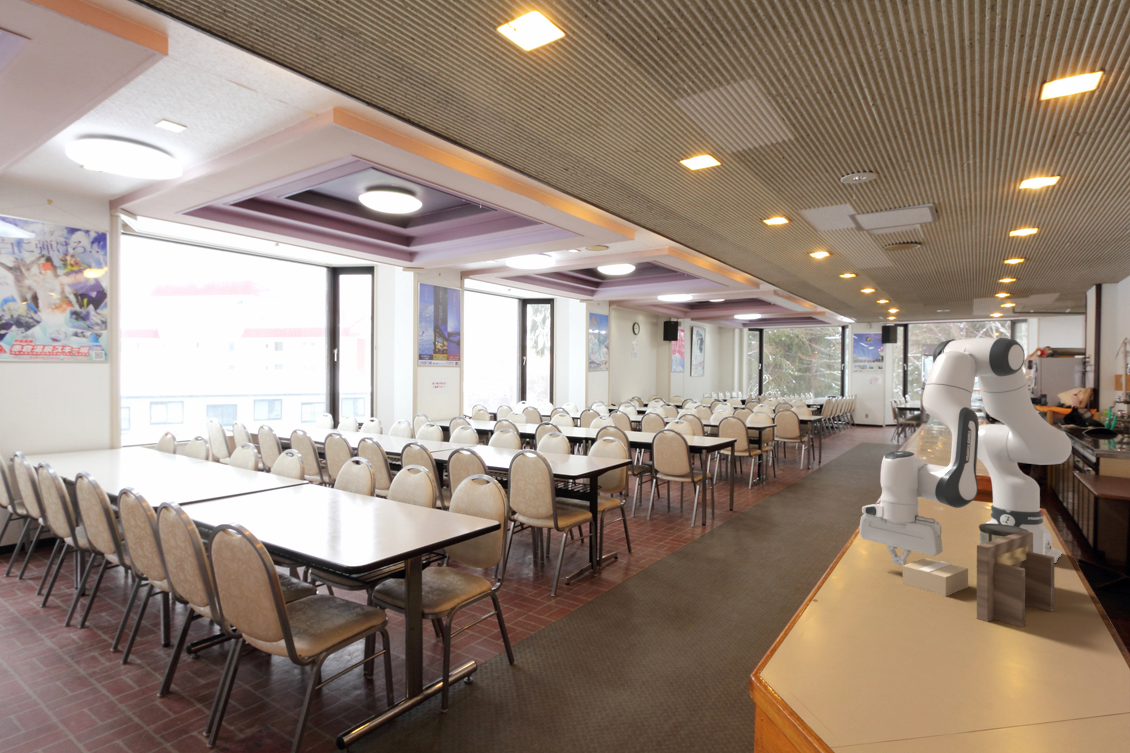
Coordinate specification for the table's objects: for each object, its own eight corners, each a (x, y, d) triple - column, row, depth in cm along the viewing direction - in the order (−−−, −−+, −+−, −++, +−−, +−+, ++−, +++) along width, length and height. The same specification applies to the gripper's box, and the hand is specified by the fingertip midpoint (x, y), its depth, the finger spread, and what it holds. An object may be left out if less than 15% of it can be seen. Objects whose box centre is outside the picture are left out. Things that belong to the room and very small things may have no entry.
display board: (1020, 596, 138) (1020, 530, 138) (1059, 606, 132) (1059, 537, 132) (974, 617, 125) (974, 545, 125) (1014, 630, 119) (1014, 553, 119)
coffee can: (1014, 576, 152) (1014, 524, 152) (1038, 590, 142) (1038, 534, 142) (971, 574, 154) (971, 521, 154) (991, 587, 144) (991, 531, 144)
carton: (925, 576, 153) (925, 557, 153) (968, 588, 144) (968, 567, 144) (902, 585, 146) (902, 564, 146) (945, 597, 138) (945, 576, 138)
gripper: (947, 518, 146) (947, 572, 146) (869, 503, 163) (869, 552, 163) (934, 521, 142) (934, 577, 142) (856, 506, 160) (856, 555, 160)
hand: (899, 563), depth 153 cm, fingers closed
